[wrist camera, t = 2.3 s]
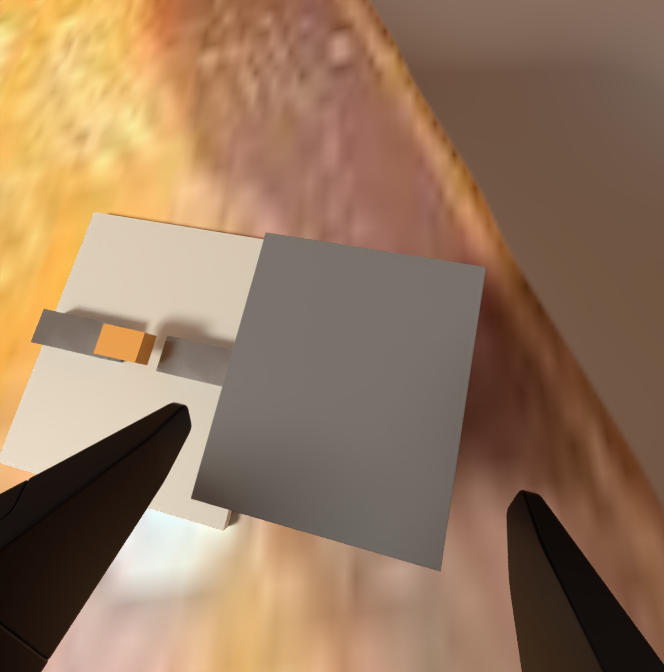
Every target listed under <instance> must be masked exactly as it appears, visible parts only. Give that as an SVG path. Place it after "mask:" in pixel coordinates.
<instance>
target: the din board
mask: <svg viewBox="0 0 664 672" xmlns="http://www.w3.org/2000/svg"><path fill="white" fill-rule="evenodd" d="M263 241H264V239H258V238H252V237H246V236H240V235H233V234H227V233H221V232H215V231H209V230H202V229H196V228H190V227H184V226H178V225H171V224H165V223H159V222H153V221H146V220H140V219H134V218H128V217H122V216H115V215H109V214H103V213H97V212H94V214H93V216H92V219H91V221H90V224H89V227H88V229H87V232H86V234H85V237H84V239H83V242H82V245H81V247H80V250H79V252H78V255H77V257H76V260H75V263H74V265H73V268H72V270H71V273H70V276H69V278H68V281H67V283H66V286H65V288H64V291H63V294H62V296H61V299H60V301H59V304H58V306H57V309H56V312H60V313H65V314H70V315H74V316H79V317H84V318H88V319H93V320H98V321H102V322H107V323H112V324H116V325H120V326H123V327H126V328H129V329H132V330H137V331H141V332H146V333H149V334H151V335H154V336H157V337H156V340H155V343H154V346H153V350H152V353H151V356H150V359H149V362H148V365H143V364H138V363H133V362H129V361H125V360H123V362H122V363H121V362H116V361H111V360H106V359H102V358H97V357H93V356H89V355H85V354H80V353H76V352H72V351H68V350H63V349H59V348H55V347H50V346H46V345H42V348H41V350H40V353H39V355H38V358H37V361H36V363H35V366H34V368H33V371H32V374H31V376H30V379H29V381H28V384H27V386H26V389H25V392H24V394H23V397H22V399H21V402H20V404H19V407H18V410H17V412H16V415H15V417H14V420H13V422H12V425H11V428H10V430H9V433H8V435H7V438H6V441H5V443H4V446H3V448H2V451H1V453H0V463H1V464H5V465H8V466H11V467H15V468H18V469H21V470H25V471H28V472H31V473H35V474H39V473H41V472H42V471H44V470H46V469H48V468H50V467H52V466H54V465H56V464H57V463H59V462H61V461H63V460H65V459H67V458H69V457H70V456H72V455H74V454H76V453H78V452H80V451H82V450H84V449H85V448H87V447H89V446H91V445H93V444H95V443H97V442H99V441H100V440H102V439H104V438H106V437H108V436H110V435H112V434H113V433H115V432H117V431H119V430H121V429H123V428H125V427H127V426H128V425H130V424H132V423H134V422H136V421H138V420H140V419H141V418H143V417H145V416H147V415H149V414H151V413H153V412H155V411H156V410H158V409H160V408H162V407H164V406H166V405H168V404H170V403H172V402H176V403H180V404H184V405H186V406H187V407H188V410H189V414H190V419H191V424H192V427H191V431H190V433H189V435H188V437H187V439H186V441H185V443H184V445H183V447H182V449H181V451H180V453H179V455H178V457H177V459H176V461H175V462H174V464H173V466H172V468H171V470H170V472H169V474H168V476H167V478H166V479H165V481H164V483H163V484H162V486H161V488H160V489H159V491H158V492H157V494H156V496H155V497H154V499H153V500H152V502H151V503H150V505H149V506H148V508H151V509H154V510H157V511H160V512H164V513H167V514H170V515H174V516H177V517H180V518H184V519H187V520H190V521H194V522H197V523H200V524H204V525H207V526H210V527H214V528H217V529H220V530H224V529H226V528H227V527H228V525H229V521H230V517H231V513H232V511H231V510H228V509H224V508H221V507H217V506H214V505H210V504H207V503H204V502H200V501H197V500H193V499H191V496H192V492H193V489H194V485H195V481H196V478H197V474H198V471H199V467H200V464H201V460H202V457H203V453H204V450H205V446H206V442H207V439H208V435H209V432H210V428H211V425H212V421H213V418H214V414H215V411H216V407H217V404H218V400H219V396H220V393H221V389H222V387H221V386H217V385H213V384H209V383H204V382H200V381H196V380H192V379H187V378H183V377H179V376H174V375H170V374H166V373H162V372H157V371H156V369H157V366H158V363H159V360H160V356H161V353H162V350H163V347H164V344H165V341H166V338H167V336H172V337H177V338H181V339H186V340H191V341H195V342H200V343H204V344H209V345H214V346H218V347H223V348H228V349H232V350H233V347H234V343H235V340H236V336H237V333H238V329H239V326H240V322H241V318H242V315H243V311H244V308H245V304H246V301H247V297H248V294H249V290H250V287H251V283H252V280H253V276H254V272H255V269H256V265H257V262H258V258H259V255H260V251H261V248H262V244H263Z"/></svg>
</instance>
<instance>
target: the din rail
mask: <svg viewBox="0 0 664 672" xmlns="http://www.w3.org/2000/svg"><path fill="white" fill-rule="evenodd" d="M104 324H109V325H114V326H118V327H123V326H120V325H116V324H112V323H107V322H102V321H98V320H93V319H88V318H84V317H79V316H74V315H70V314H65V313H60V312H56V311H51V310H47V309H44V310H43V313H42V315H41V318H40V320H39V323H38V325H37V328H36V330H35V333H34V335H33V338H32V340H31V342H33V343H38V344H42V345H46V346H50V347H55V348H59V349H63V350H68V351H72V352H76V353H80V354H85V355H89V356H93V357H97V358H102V359H106V360H111V361H116V362H121V363H122V362H123V360H120V359H116V358H112V357H107V356H103V355H99V354H95V353H93V352H94V350H95V347H96V344H97V341H98V339H99V336H100V333H101V330H102V327H103V325H104ZM123 328H126V327H123ZM128 329H129V328H128ZM231 354H232V349H228V348H223V347H218V346H214V345H209V344H204V343H200V342H195V341H191V340H186V339H181V338H177V337H172V336H167V338H166V341H165V344H164V347H163V350H162V353H161V356H160V360H159V363H158V366H157V369H156V371H157V372H162V373H166V374H170V375H174V376H179V377H183V378H187V379H192V380H196V381H200V382H204V383H209V384H213V385H217V386H221V387H222V386H223V382H224V379H225V375H226V372H227V368H228V365H229V361H230V357H231Z"/></svg>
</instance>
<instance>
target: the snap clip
mask: <svg viewBox="0 0 664 672" xmlns="http://www.w3.org/2000/svg"><path fill="white" fill-rule="evenodd" d="M156 337H157V336H154V335H151V334H149V333H146V332H141V331H137V330H132V329H128V328H123V327H118V326H114V325H109V324H104V325H103V327H102V330H101V333H100V336H99V339H98V341H97V344H96V347H95V350H94V352H93V353H95V354H99V355H103V356H107V357H112V358H116V359H120V360H125V361H129V362H133V363H138V364H143V365H148V362H149V359H150V356H151V353H152V350H153V346H154V343H155V340H156Z"/></svg>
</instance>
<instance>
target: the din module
mask: <svg viewBox="0 0 664 672" xmlns="http://www.w3.org/2000/svg"><path fill="white" fill-rule="evenodd" d="M485 271H486V267H482V266H475V265H469V264H463V263H456V262H450V261H444V260H437V259H431V258H425V257H418V256H412V255H406V254H399V253H393V252H387V251H380V250H374V249H368V248H361V247H355V246H349V245H342V244H336V243H330V242H323V241H317V240H311V239H304V238H298V237H292V236H285V235H279V234H273V233H265V237H264V241H263V244H262V248H261V251H260V255H259V258H258V262H257V265H256V269H255V272H254V276H253V280H252V283H251V287H250V290H249V294H248V297H247V301H246V304H245V308H244V311H243V315H242V318H241V322H240V326H239V329H238V333H237V336H236V340H235V343H234V347H233V350H232V354H231V357H230V361H229V365H228V368H227V372H226V375H225V379H224V382H223V386H222V389H221V393H220V396H219V400H218V404H217V407H216V411H215V414H214V418H213V421H212V425H211V428H210V432H209V435H208V439H207V442H206V446H205V450H204V453H203V457H202V460H201V464H200V467H199V471H198V474H197V478H196V481H195V485H194V489H193V492H192V496H191V499H193V500H197V501H200V502H204V503H207V504H210V505H214V506H217V507H221V508H224V509H228V510H231V511H234V512H238V513H241V514H245V515H248V516H252V517H255V518H258V519H262V520H265V521H269V522H272V523H276V524H279V525H283V526H286V527H289V528H293V529H296V530H300V531H303V532H307V533H310V534H313V535H317V536H320V537H324V538H327V539H331V540H334V541H337V542H341V543H344V544H348V545H351V546H355V547H358V548H362V549H365V550H368V551H372V552H375V553H379V554H382V555H386V556H389V557H392V558H396V559H399V560H403V561H406V562H410V563H413V564H416V565H420V566H423V567H427V568H430V569H434V570H437V571H441V565H442V558H443V551H444V545H445V538H446V531H447V524H448V518H449V511H450V504H451V498H452V491H453V484H454V478H455V471H456V464H457V458H458V451H459V444H460V438H461V431H462V424H463V418H464V411H465V404H466V398H467V391H468V384H469V377H470V371H471V364H472V357H473V351H474V344H475V337H476V331H477V324H478V317H479V311H480V304H481V297H482V291H483V284H484V277H485Z"/></svg>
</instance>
